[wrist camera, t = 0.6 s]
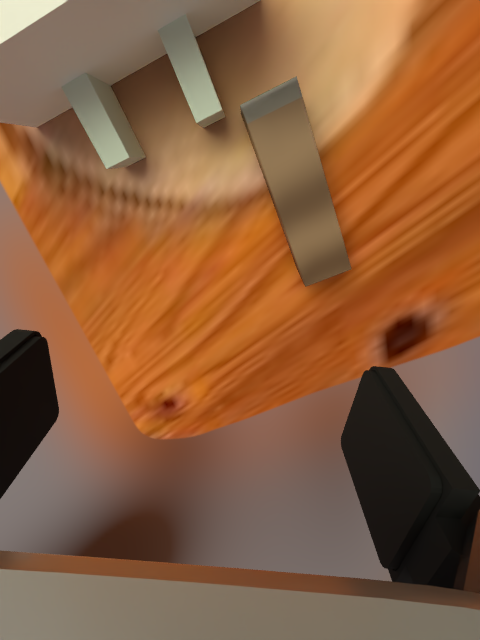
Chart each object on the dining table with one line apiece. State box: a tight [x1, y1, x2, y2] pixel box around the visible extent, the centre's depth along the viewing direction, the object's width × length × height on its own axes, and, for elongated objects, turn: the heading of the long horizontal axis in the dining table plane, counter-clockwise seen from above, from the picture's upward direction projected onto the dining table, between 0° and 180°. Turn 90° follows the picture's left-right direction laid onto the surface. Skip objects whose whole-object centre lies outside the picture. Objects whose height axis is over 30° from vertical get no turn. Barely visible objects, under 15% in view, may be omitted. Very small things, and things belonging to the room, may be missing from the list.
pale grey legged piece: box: [0, 0, 261, 169], centre depth 20 cm, size 20×8×14 cm, turn 113°
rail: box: [240, 76, 351, 287], centre depth 27 cm, size 14×4×5 cm, turn 23°
